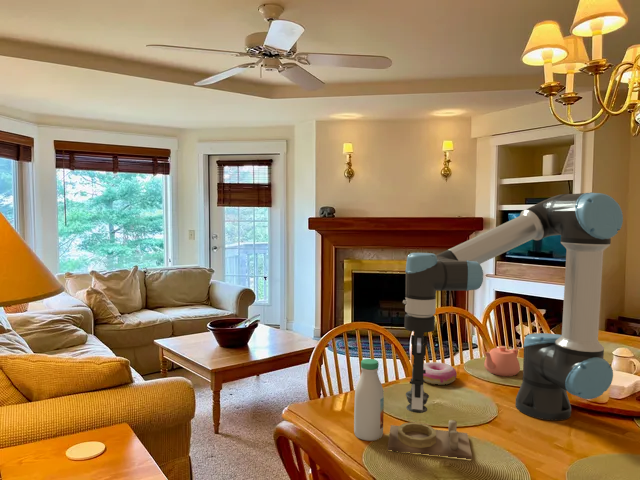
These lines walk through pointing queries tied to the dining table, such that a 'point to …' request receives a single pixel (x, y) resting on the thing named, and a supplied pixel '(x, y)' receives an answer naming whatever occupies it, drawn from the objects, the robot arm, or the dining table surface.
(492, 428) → the dining table surface
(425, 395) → the dark grey tapered tower
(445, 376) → the donut
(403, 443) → the board
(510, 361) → the teapot
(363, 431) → the milk bottle
